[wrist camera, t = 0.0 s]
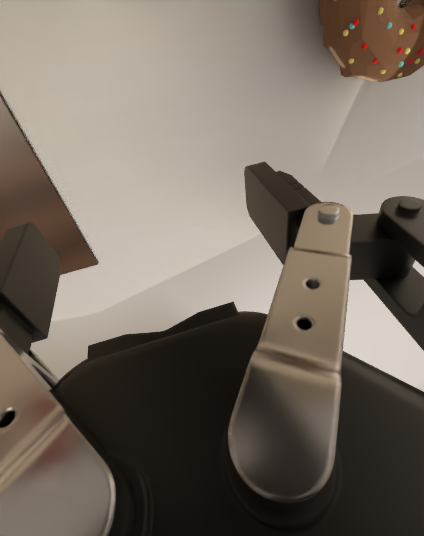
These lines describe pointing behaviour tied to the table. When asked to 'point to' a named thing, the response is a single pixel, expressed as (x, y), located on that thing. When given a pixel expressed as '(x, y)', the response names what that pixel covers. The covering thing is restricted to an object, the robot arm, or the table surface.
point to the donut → (374, 37)
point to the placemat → (35, 198)
